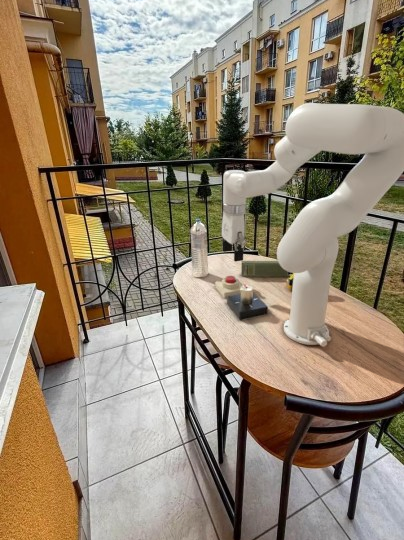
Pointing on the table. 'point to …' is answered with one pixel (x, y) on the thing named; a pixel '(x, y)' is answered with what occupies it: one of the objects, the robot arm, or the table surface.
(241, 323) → the table surface
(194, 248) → the water bottle
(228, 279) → the button
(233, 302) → the control panel
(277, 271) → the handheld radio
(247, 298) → the knob
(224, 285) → the button box
